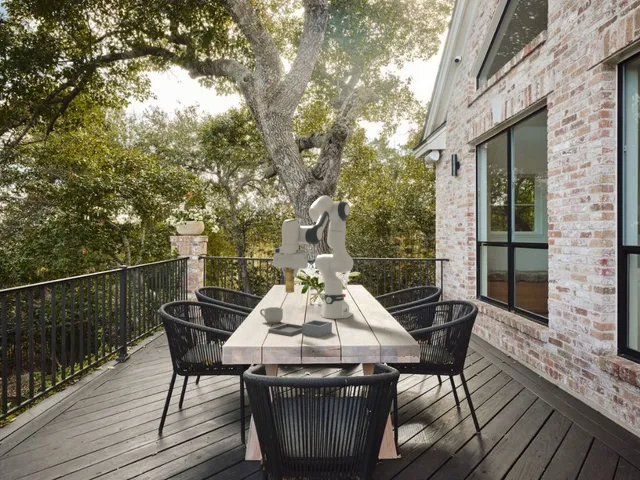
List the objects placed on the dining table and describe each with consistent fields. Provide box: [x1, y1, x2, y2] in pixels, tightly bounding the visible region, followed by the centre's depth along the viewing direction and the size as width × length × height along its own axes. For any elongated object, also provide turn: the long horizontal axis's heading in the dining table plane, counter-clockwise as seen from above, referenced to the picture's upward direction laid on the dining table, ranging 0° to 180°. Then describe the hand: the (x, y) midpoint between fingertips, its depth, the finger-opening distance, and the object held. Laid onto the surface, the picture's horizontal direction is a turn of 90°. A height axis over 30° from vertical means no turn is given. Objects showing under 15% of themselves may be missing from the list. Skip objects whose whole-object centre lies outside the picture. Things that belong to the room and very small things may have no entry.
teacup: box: [259, 306, 284, 325], centre depth 235 cm, size 14×11×8 cm
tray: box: [268, 322, 302, 337], centre depth 211 cm, size 16×14×2 cm
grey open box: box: [301, 319, 333, 338], centre depth 206 cm, size 11×11×6 cm
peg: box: [285, 268, 295, 294], centre depth 210 cm, size 4×4×12 cm
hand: (290, 276), depth 210 cm, fingers closed on peg, 4 cm apart
